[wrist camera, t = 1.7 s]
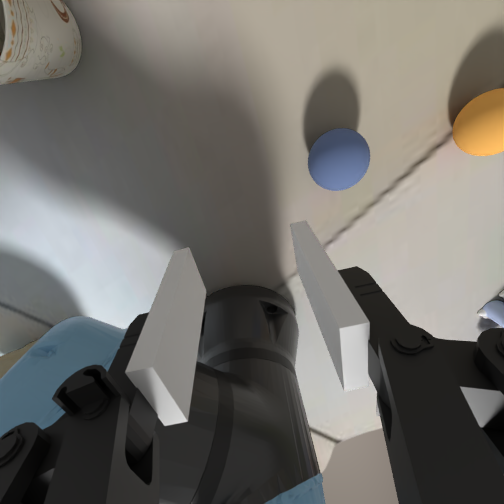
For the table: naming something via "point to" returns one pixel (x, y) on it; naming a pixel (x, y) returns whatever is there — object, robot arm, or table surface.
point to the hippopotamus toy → (494, 311)
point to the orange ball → (481, 125)
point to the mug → (37, 40)
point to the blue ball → (339, 159)
